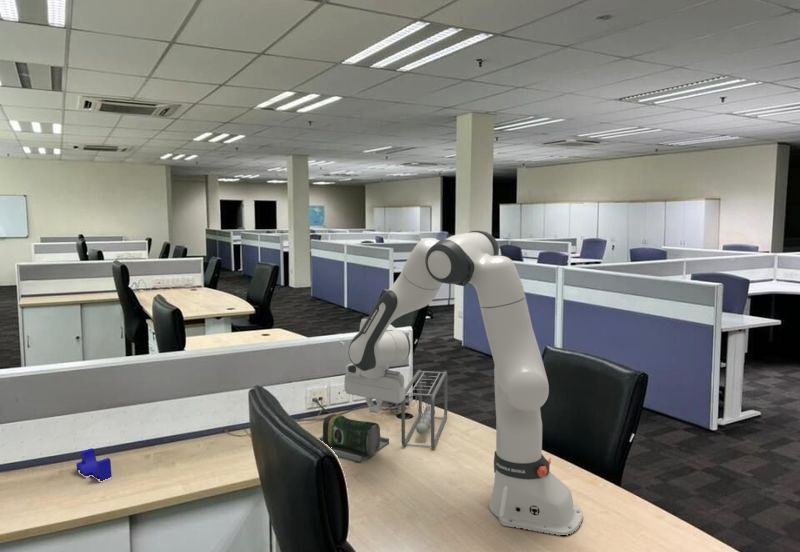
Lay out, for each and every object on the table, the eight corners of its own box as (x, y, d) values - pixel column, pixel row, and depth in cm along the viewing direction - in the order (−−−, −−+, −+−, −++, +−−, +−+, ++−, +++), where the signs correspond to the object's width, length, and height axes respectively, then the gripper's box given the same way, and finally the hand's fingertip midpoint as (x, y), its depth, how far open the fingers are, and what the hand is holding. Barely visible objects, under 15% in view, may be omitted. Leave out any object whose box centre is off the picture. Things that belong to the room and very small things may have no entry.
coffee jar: (382, 421, 176) (334, 409, 186) (367, 428, 169) (318, 416, 179) (381, 451, 177) (334, 438, 187) (366, 460, 170) (318, 446, 180)
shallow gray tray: (389, 443, 183) (389, 438, 183) (360, 463, 169) (359, 457, 169) (338, 431, 193) (338, 426, 193) (307, 449, 179) (307, 443, 179)
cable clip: (77, 473, 165) (75, 453, 164) (93, 467, 168) (92, 448, 167) (95, 485, 157) (93, 464, 156) (111, 479, 160) (110, 459, 160)
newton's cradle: (419, 415, 209) (418, 368, 207) (447, 417, 206) (447, 369, 204) (401, 448, 180) (400, 393, 178) (434, 451, 177) (434, 396, 175)
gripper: (409, 369, 171) (409, 414, 172) (352, 361, 181) (353, 403, 183) (398, 375, 165) (398, 421, 167) (341, 365, 176) (341, 409, 177)
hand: (374, 411), depth 175 cm, fingers closed
